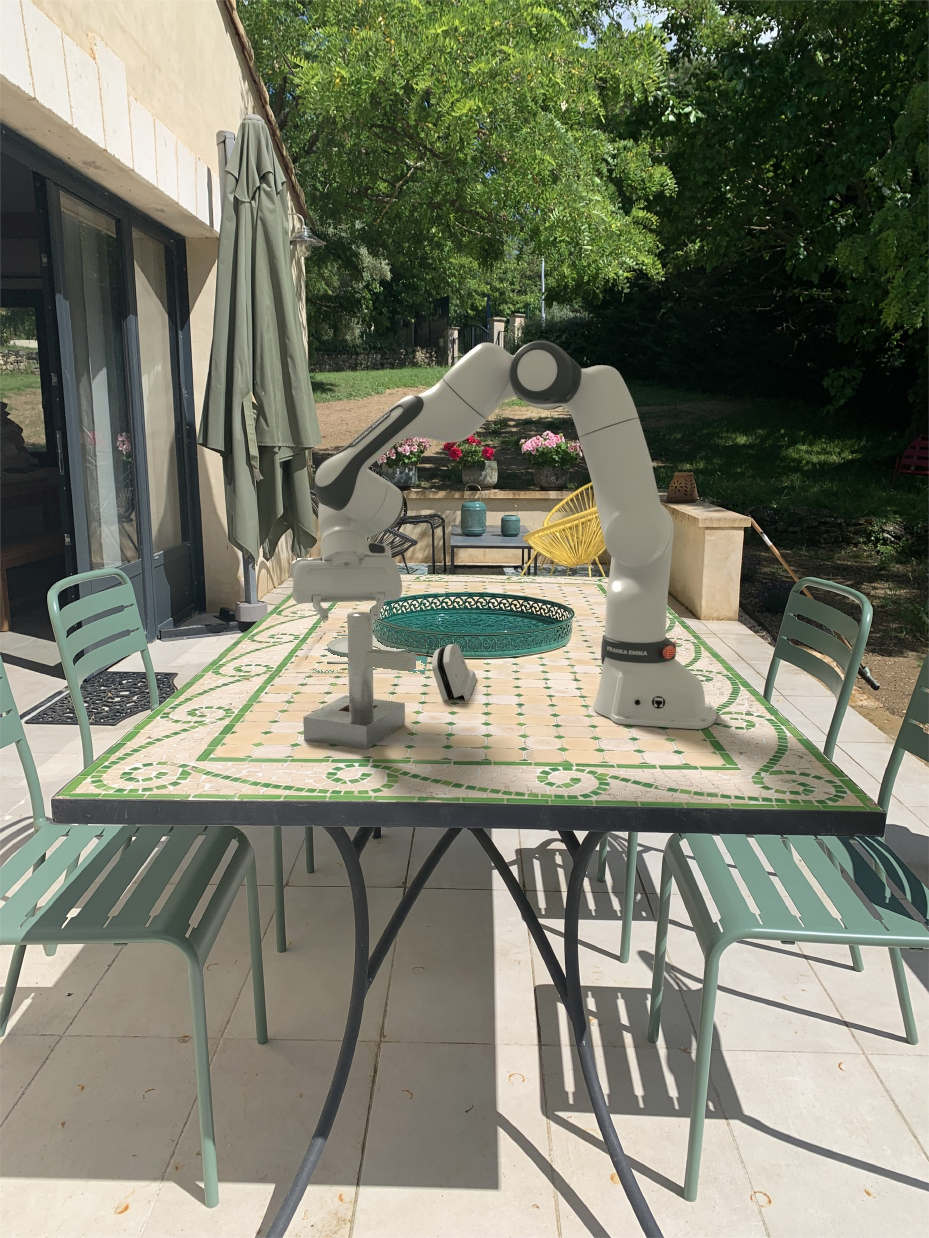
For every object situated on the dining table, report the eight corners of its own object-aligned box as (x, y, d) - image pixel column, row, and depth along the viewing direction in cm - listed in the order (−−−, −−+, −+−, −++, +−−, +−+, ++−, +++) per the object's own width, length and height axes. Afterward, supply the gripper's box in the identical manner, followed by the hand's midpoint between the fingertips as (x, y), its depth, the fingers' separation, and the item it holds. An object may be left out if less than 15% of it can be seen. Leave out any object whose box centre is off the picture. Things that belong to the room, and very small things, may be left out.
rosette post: (443, 730, 157) (443, 606, 153) (407, 756, 145) (407, 621, 140) (346, 716, 165) (343, 597, 160) (304, 739, 152) (300, 611, 147)
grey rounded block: (467, 701, 174) (450, 653, 173) (445, 708, 175) (427, 660, 173) (477, 678, 190) (461, 634, 189) (456, 685, 191) (440, 641, 190)
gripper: (288, 548, 167) (292, 610, 159) (398, 546, 171) (406, 606, 164) (289, 569, 172) (292, 629, 164) (395, 566, 176) (403, 625, 169)
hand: (350, 618), depth 164 cm, fingers open, 8 cm apart
